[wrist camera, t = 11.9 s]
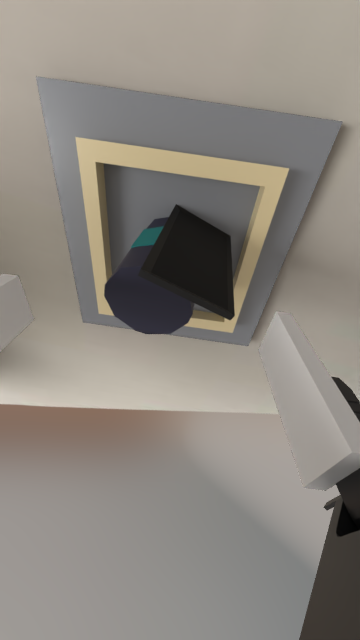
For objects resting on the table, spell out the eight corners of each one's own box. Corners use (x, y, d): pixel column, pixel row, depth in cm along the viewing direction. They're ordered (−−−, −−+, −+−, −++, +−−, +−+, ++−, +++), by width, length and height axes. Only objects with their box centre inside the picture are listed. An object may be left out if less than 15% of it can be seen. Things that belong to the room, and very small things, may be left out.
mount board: (86, 317, 26) (77, 330, 24) (45, 81, 15) (19, 67, 13) (246, 340, 26) (250, 355, 24) (335, 124, 15) (356, 117, 13)
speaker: (187, 178, 16) (162, 225, 8) (231, 236, 19) (243, 313, 11) (127, 243, 20) (73, 314, 12) (170, 284, 23) (147, 364, 15)
